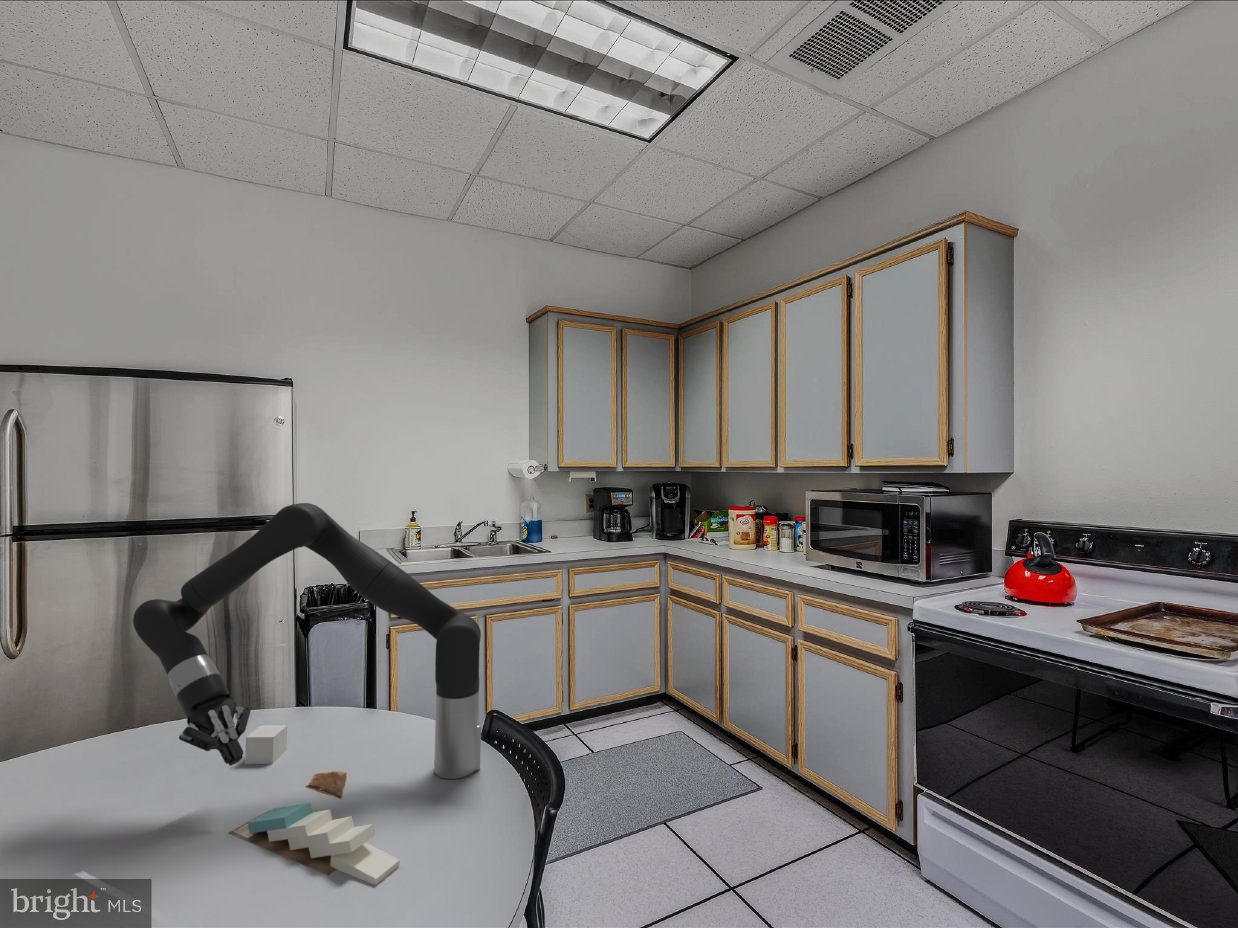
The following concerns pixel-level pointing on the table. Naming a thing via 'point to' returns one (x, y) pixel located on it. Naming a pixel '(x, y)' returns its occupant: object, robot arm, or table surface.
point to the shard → (329, 783)
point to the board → (284, 849)
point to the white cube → (266, 744)
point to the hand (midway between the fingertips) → (236, 761)
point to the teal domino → (279, 818)
